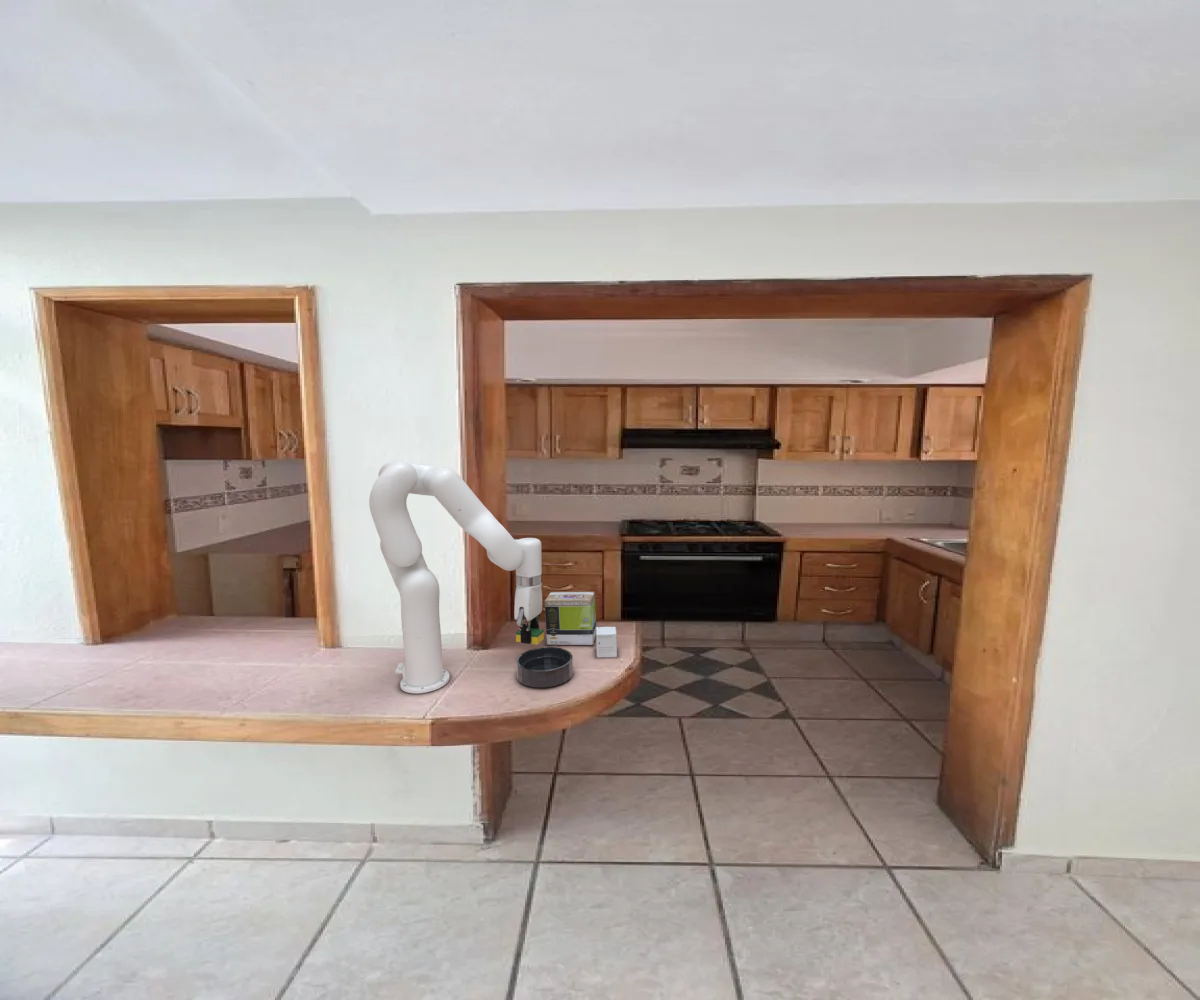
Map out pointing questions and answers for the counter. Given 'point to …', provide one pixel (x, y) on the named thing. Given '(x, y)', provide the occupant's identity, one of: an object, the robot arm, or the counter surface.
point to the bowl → (544, 667)
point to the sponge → (532, 635)
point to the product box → (606, 642)
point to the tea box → (570, 618)
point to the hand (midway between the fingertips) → (530, 639)
